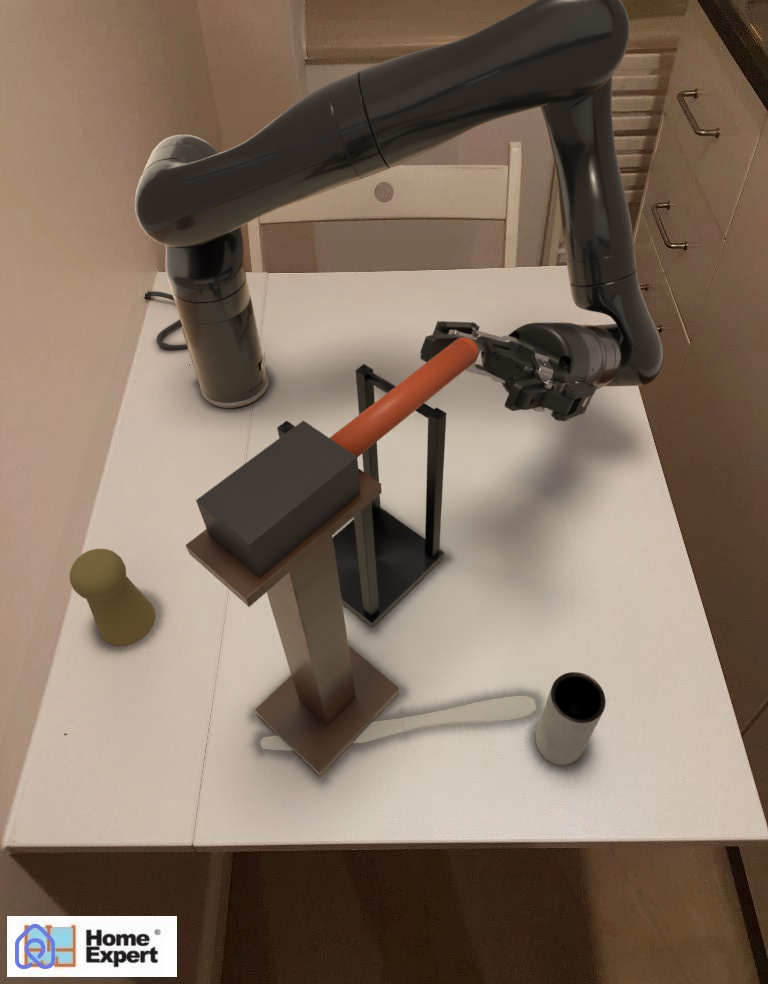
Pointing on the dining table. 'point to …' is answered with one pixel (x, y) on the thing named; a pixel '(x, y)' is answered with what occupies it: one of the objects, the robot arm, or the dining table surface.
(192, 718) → the dining table surface
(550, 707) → the planter
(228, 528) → the orange-handled mallet
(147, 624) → the olive pawn
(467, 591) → the dining table surface
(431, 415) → the black rack
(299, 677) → the wooden pedestal stand
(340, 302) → the dining table surface
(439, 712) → the butter knife
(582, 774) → the dining table surface
